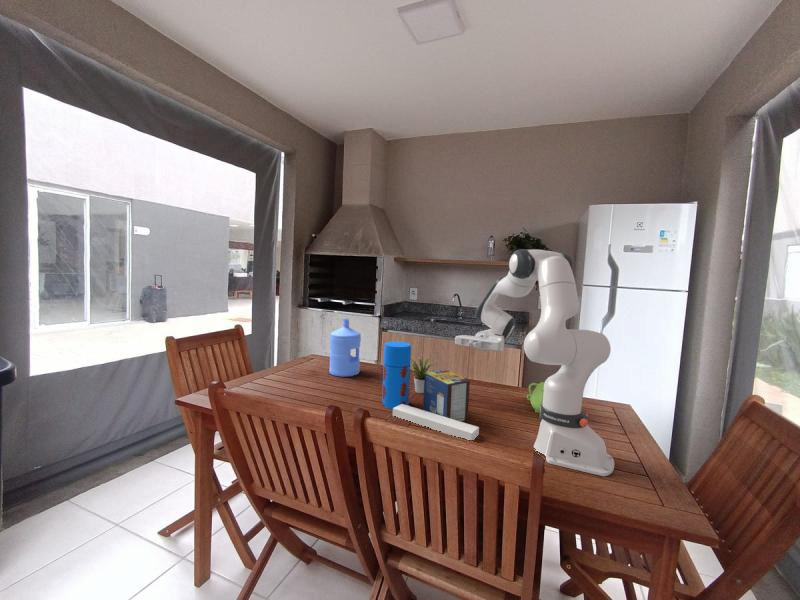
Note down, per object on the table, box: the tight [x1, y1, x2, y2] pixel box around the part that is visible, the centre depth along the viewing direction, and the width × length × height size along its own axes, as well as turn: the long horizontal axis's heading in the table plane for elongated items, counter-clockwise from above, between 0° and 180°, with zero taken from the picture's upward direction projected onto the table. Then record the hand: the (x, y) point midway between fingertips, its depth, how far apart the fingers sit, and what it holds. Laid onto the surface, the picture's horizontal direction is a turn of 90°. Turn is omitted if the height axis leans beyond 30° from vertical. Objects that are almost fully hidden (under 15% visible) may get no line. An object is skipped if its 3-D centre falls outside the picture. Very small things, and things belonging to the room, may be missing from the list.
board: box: [392, 404, 480, 441], centre depth 131 cm, size 32×6×3 cm, turn 55°
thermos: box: [382, 341, 412, 410], centre depth 148 cm, size 11×11×25 cm
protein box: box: [422, 369, 471, 423], centre depth 139 cm, size 10×15×16 cm
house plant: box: [410, 356, 438, 394], centre depth 166 cm, size 14×14×16 cm
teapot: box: [526, 381, 545, 414], centre depth 147 cm, size 16×14×13 cm
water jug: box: [329, 318, 362, 378], centre depth 189 cm, size 16×16×28 cm
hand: (471, 344), depth 148 cm, fingers closed
